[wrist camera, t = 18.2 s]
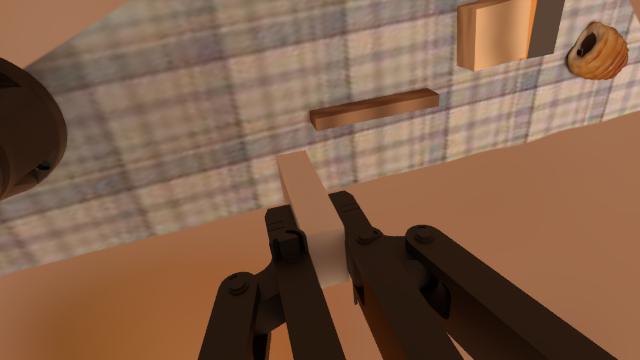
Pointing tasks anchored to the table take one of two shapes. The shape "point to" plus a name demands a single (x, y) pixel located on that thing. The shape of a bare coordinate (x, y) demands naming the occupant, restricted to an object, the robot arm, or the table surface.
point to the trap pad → (543, 27)
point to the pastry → (598, 53)
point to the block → (492, 32)
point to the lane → (373, 108)
